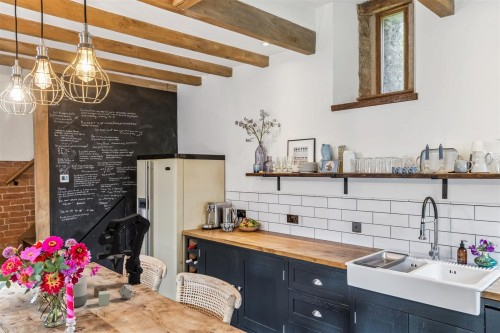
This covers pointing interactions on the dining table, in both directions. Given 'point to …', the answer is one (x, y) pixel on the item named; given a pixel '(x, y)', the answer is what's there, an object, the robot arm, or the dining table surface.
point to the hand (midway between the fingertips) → (114, 269)
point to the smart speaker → (80, 292)
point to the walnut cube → (98, 289)
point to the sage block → (103, 298)
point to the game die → (126, 291)
